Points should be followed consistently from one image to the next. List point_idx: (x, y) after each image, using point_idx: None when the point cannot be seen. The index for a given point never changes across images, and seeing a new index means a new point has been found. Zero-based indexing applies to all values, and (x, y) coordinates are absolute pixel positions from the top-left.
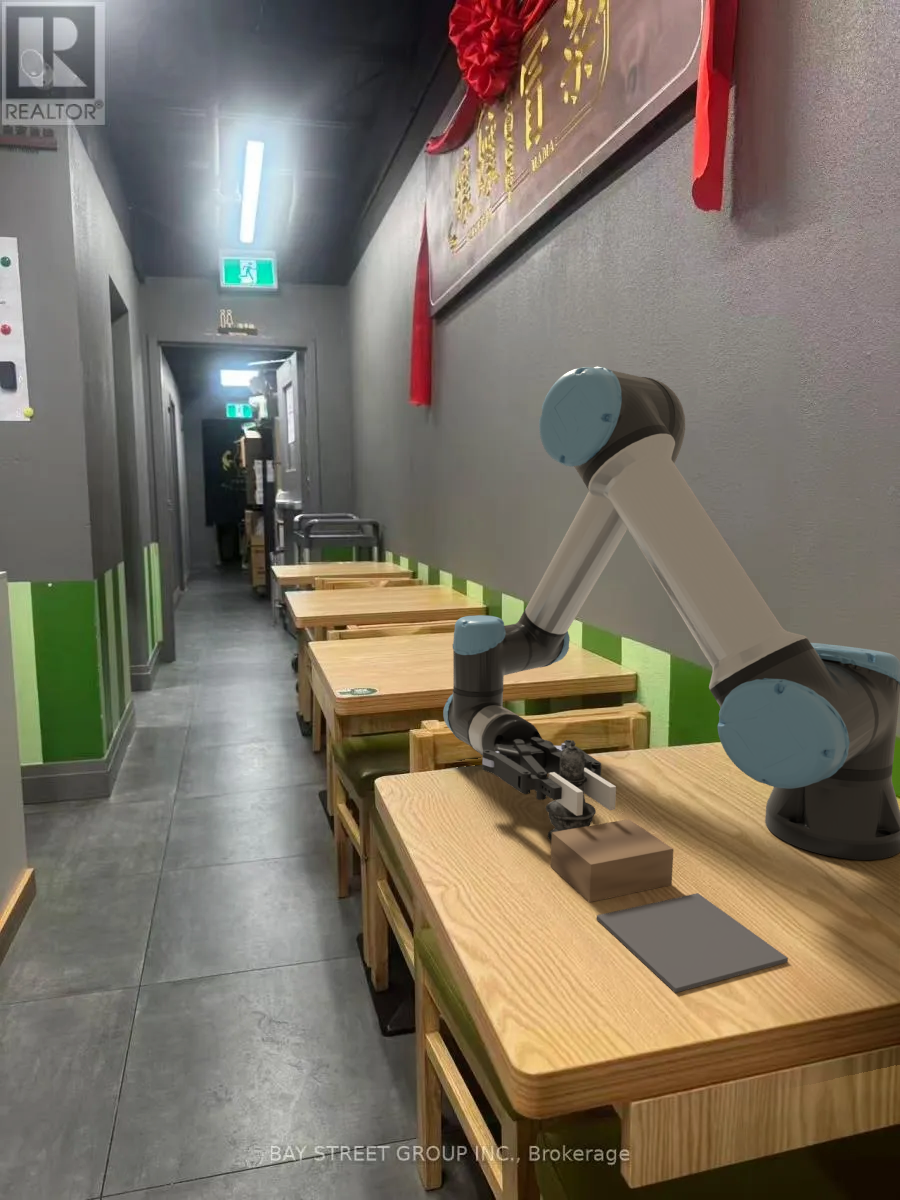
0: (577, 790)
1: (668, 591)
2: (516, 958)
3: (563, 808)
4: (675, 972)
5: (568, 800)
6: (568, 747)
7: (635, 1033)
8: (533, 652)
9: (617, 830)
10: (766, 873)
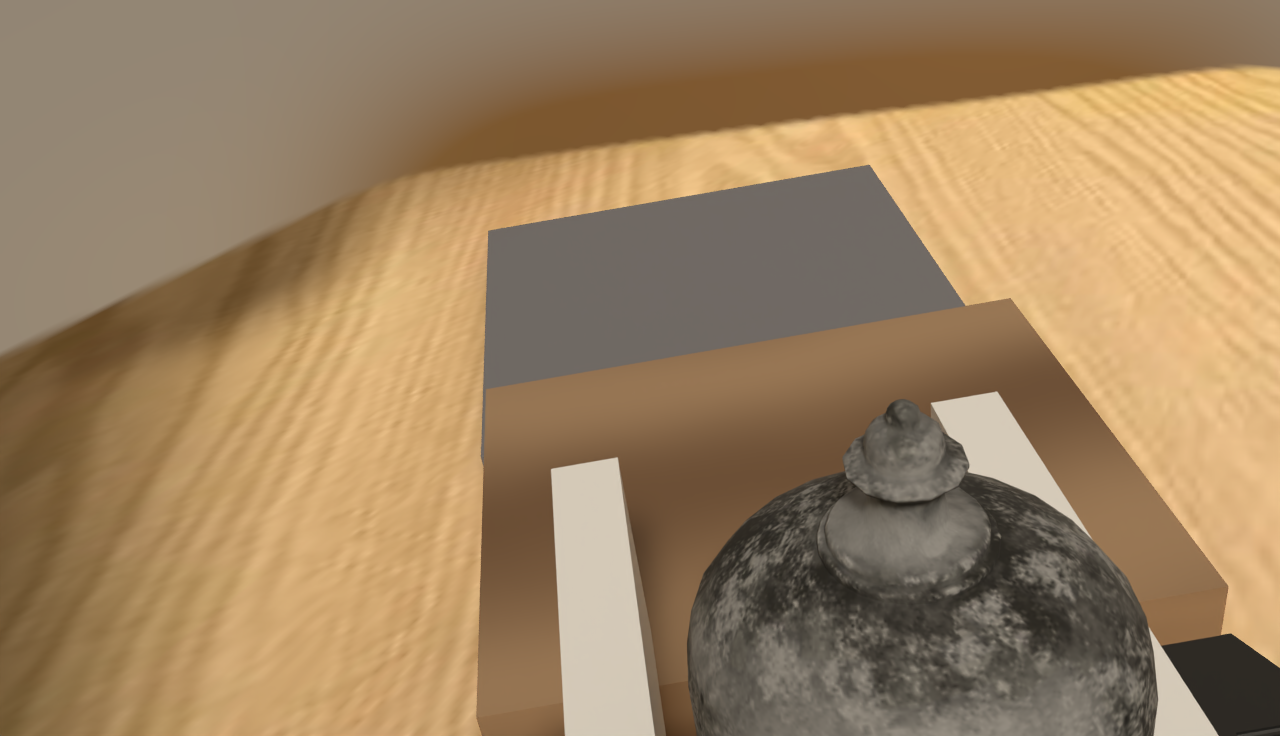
0: (982, 425)
1: None
2: None
3: None
4: (839, 194)
5: None
6: (985, 564)
7: (1022, 114)
8: None
9: (681, 566)
10: (10, 595)
